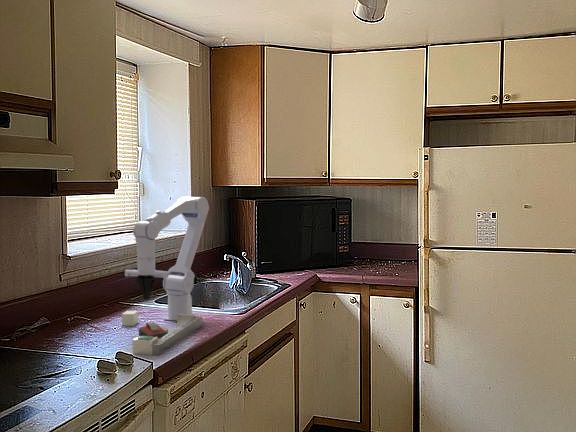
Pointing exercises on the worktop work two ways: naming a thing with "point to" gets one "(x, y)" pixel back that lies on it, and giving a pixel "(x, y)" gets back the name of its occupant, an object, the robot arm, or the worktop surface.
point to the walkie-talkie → (153, 330)
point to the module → (129, 318)
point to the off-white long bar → (167, 336)
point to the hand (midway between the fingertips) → (146, 298)
